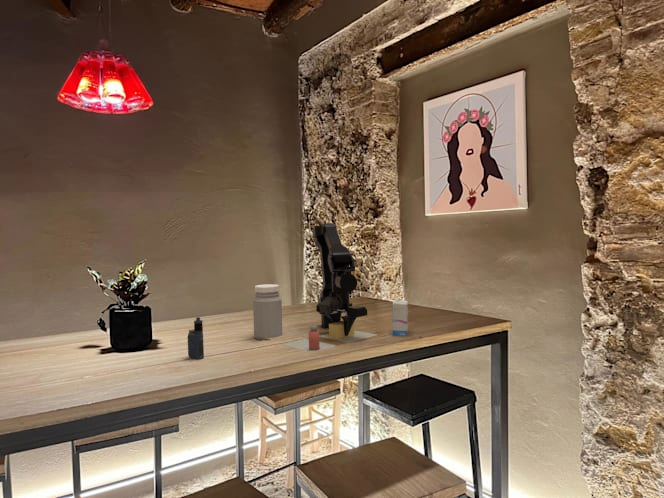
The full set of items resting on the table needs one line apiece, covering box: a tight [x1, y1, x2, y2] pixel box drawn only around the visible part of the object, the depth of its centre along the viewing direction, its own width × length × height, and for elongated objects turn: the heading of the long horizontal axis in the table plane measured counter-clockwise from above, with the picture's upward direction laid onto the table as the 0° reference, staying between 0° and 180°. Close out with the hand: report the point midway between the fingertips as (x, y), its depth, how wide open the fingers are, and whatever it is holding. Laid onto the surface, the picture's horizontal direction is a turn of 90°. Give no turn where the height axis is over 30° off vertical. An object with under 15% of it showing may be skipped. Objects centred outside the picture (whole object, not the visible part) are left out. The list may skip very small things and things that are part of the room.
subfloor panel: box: [280, 329, 377, 353], centre depth 156 cm, size 14×30×1 cm, turn 134°
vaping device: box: [187, 316, 205, 360], centre depth 141 cm, size 3×5×12 cm, turn 58°
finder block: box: [328, 320, 355, 339], centre depth 161 cm, size 4×8×5 cm, turn 135°
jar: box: [252, 283, 283, 341], centre depth 165 cm, size 10×10×18 cm
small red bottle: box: [308, 324, 320, 351], centre depth 144 cm, size 3×3×7 cm
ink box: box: [392, 299, 409, 337], centre depth 163 cm, size 9×5×12 cm, turn 168°
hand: (341, 334), depth 161 cm, fingers closed on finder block, 4 cm apart
